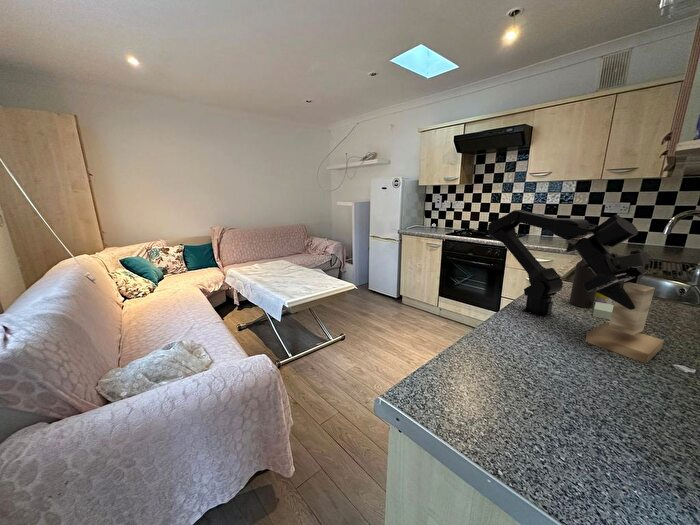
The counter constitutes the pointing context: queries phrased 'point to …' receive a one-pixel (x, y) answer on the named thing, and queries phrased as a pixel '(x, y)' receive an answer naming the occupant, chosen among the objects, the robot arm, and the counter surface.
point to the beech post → (636, 317)
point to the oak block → (625, 342)
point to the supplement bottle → (602, 298)
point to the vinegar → (578, 292)
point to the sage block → (603, 310)
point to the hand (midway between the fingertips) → (638, 307)
